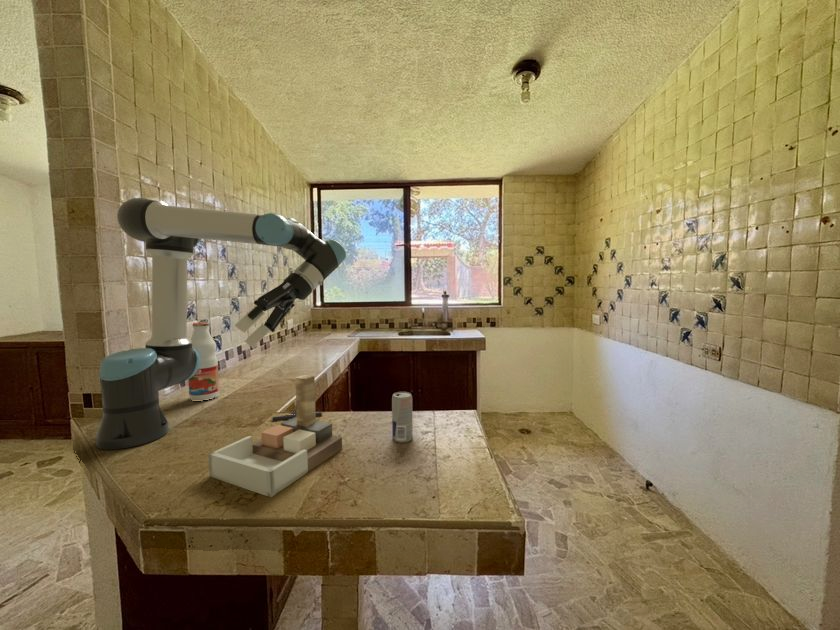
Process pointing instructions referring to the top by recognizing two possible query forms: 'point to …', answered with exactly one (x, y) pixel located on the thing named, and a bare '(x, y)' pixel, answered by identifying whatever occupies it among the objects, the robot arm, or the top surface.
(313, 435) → the tile cream
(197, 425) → the top surface
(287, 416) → the bracket
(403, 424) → the energy drink
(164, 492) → the top surface
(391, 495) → the top surface
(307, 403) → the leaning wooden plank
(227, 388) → the top surface
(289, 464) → the tray
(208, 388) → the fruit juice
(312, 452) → the board
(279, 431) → the tile terracotta
